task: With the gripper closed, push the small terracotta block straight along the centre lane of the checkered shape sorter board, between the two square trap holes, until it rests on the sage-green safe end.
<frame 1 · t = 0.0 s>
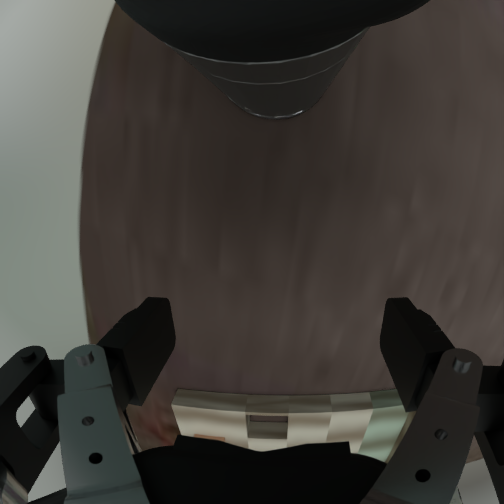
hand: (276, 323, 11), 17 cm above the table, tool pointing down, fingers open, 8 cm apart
checkered shape sorter board: (294, 431, 36), on the table
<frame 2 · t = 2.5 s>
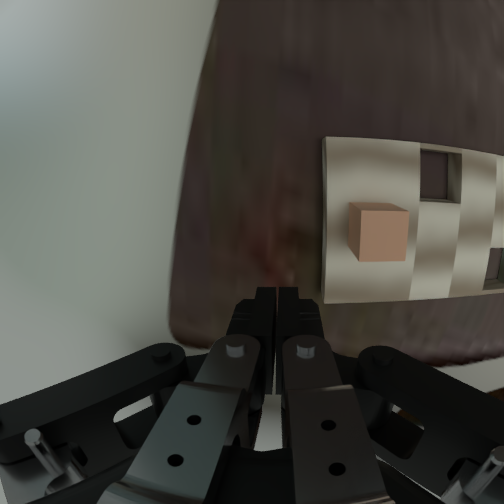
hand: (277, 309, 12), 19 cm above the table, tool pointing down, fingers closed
block: (369, 224, 26), point 3 cm above the table, touching checkered shape sorter board
checkered shape sorter board: (452, 220, 28), on the table
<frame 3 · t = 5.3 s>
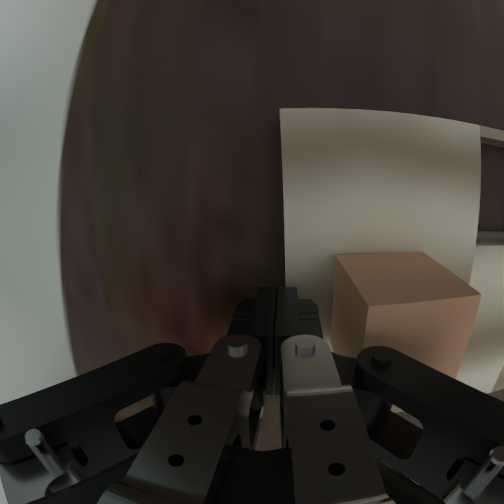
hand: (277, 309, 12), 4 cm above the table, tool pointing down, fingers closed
block: (377, 297, 12), point 3 cm above the table, touching checkered shape sorter board, gripper
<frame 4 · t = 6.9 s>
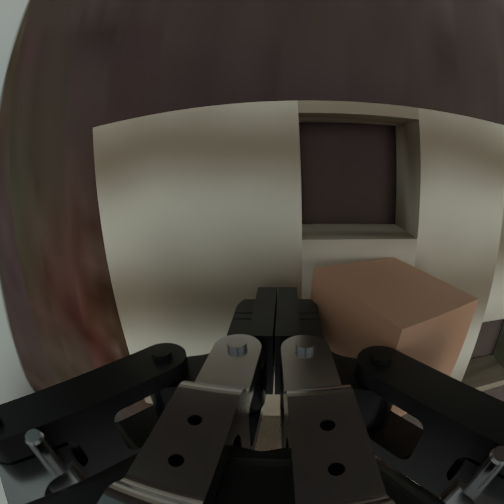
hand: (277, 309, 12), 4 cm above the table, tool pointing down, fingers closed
block: (351, 308, 12), point 4 cm above the table, tilted 25°, touching checkered shape sorter board, gripper, hand
checkered shape sorter board: (408, 265, 15), on the table
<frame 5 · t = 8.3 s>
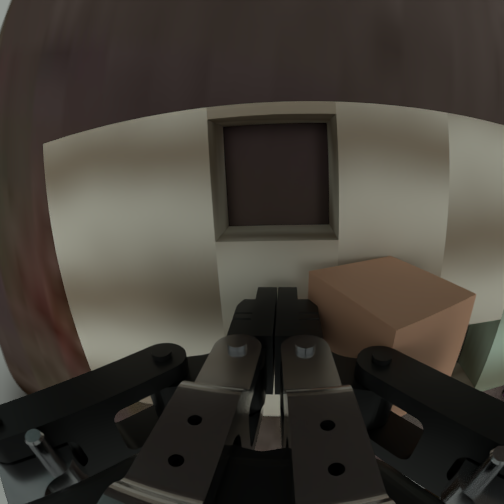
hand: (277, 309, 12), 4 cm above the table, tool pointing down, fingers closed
block: (349, 309, 12), point 4 cm above the table, tilted 25°, touching checkered shape sorter board, gripper, hand
checkered shape sorter board: (347, 267, 15), on the table
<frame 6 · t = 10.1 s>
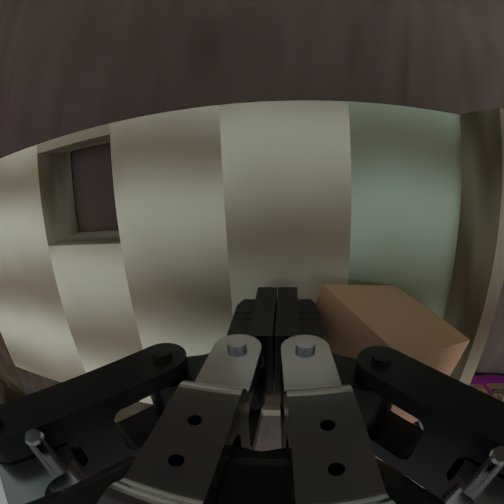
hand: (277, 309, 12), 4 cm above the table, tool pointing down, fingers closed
block: (346, 327, 12), point 4 cm above the table, tilted 25°, touching checkered shape sorter board, gripper, hand
checkered shape sorter board: (169, 267, 16), on the table
candy bar box: (472, 394, 17), on the table
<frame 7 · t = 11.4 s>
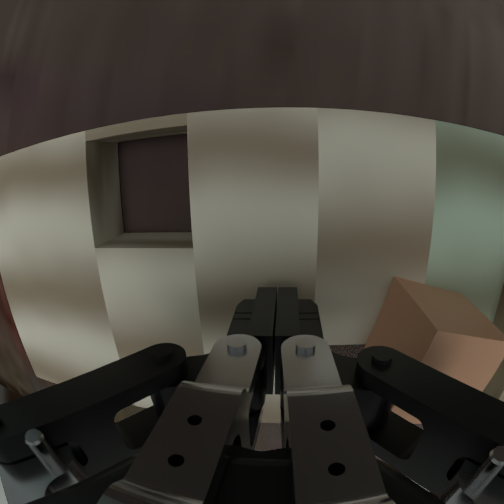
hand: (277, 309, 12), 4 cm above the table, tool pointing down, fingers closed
block: (413, 324, 12), point 3 cm above the table, touching checkered shape sorter board
checkered shape sorter board: (231, 274, 16), on the table
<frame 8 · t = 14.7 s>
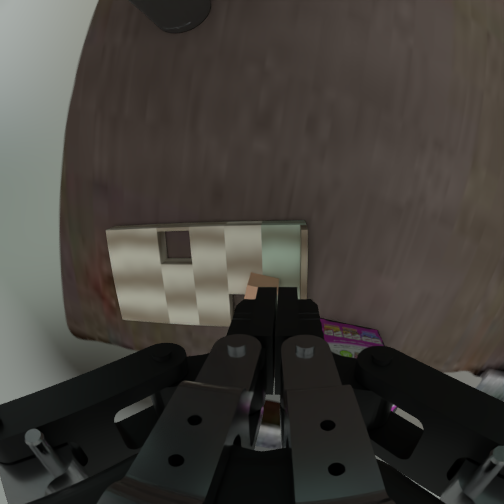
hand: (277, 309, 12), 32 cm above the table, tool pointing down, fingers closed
block: (262, 288, 43), point 3 cm above the table, touching checkered shape sorter board
checkered shape sorter board: (205, 272, 47), on the table
candy bar box: (343, 335, 48), on the table
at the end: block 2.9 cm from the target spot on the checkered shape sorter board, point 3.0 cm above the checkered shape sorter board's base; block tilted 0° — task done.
